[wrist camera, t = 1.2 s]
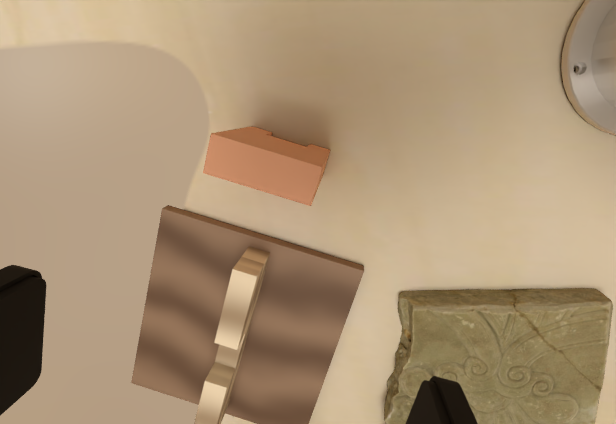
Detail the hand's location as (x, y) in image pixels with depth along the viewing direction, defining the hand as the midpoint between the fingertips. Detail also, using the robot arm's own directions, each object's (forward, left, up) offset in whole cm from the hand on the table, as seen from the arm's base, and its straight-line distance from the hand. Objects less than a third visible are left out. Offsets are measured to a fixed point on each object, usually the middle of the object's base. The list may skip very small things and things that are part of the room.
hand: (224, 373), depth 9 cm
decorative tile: (+14, +21, -25) cm, 36 cm away
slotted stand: (+16, -3, -25) cm, 30 cm away
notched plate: (-2, -3, -25) cm, 25 cm away
